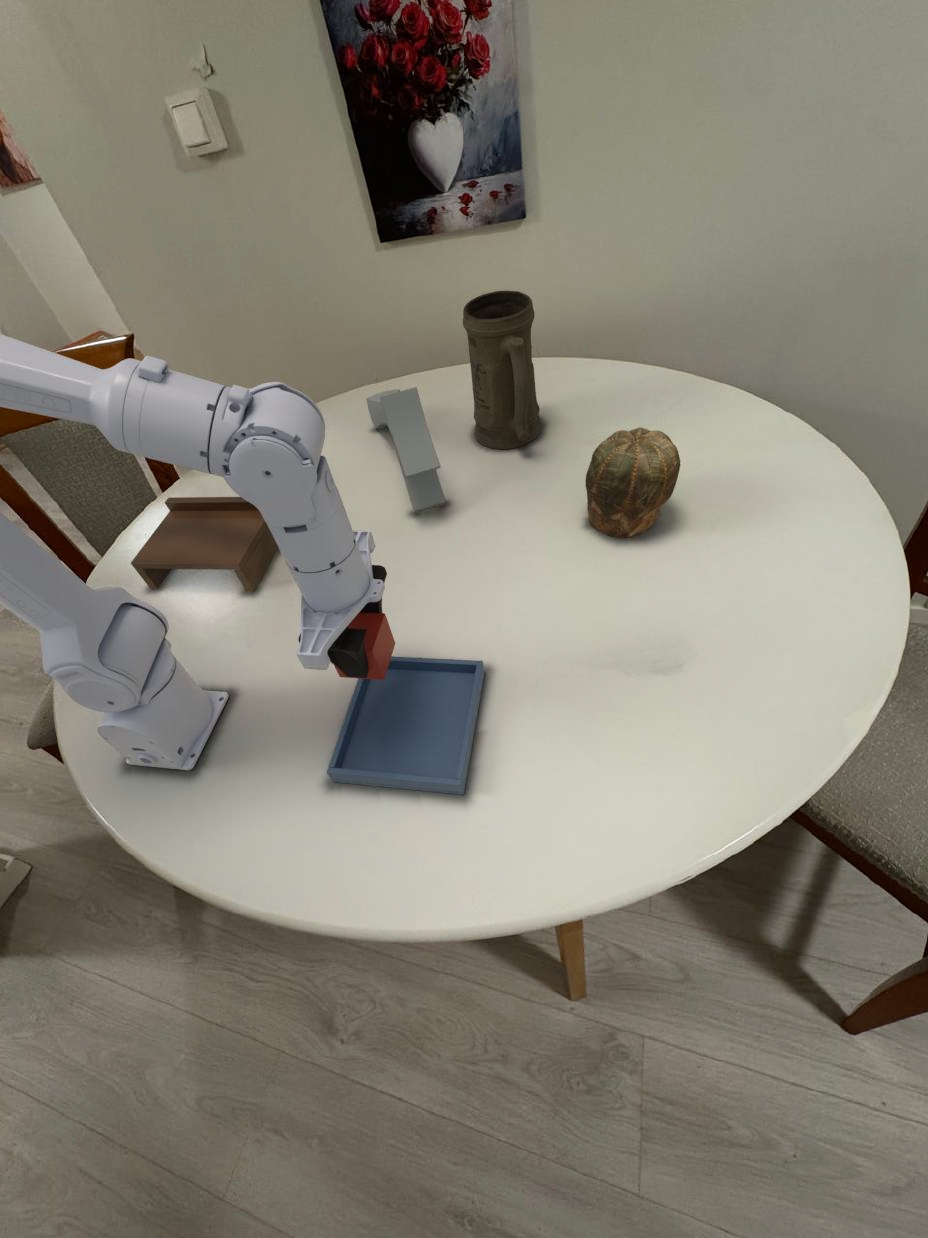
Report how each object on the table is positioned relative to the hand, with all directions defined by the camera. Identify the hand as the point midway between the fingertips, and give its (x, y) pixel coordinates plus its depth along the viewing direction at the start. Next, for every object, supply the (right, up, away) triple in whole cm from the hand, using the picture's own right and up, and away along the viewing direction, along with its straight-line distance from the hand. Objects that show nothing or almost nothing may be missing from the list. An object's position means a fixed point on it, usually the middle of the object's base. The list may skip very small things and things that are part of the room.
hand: (364, 653), depth 56 cm
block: (0, -1, +1) cm, 1 cm away
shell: (+31, +16, +21) cm, 41 cm away
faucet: (+1, +27, +36) cm, 45 cm away
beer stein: (+18, +32, +37) cm, 52 cm away
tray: (+4, -8, +4) cm, 10 cm away
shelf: (-25, +12, +27) cm, 38 cm away
